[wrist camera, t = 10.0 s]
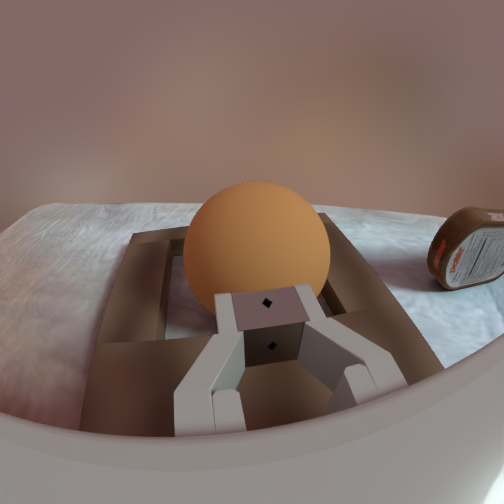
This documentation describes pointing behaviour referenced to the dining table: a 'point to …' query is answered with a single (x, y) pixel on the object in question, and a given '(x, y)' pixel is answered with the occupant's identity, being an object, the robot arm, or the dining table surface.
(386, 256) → the dining table surface
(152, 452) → the robot arm
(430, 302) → the dining table surface
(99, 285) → the dining table surface
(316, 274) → the ball
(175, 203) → the dining table surface
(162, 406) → the board
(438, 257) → the tin
